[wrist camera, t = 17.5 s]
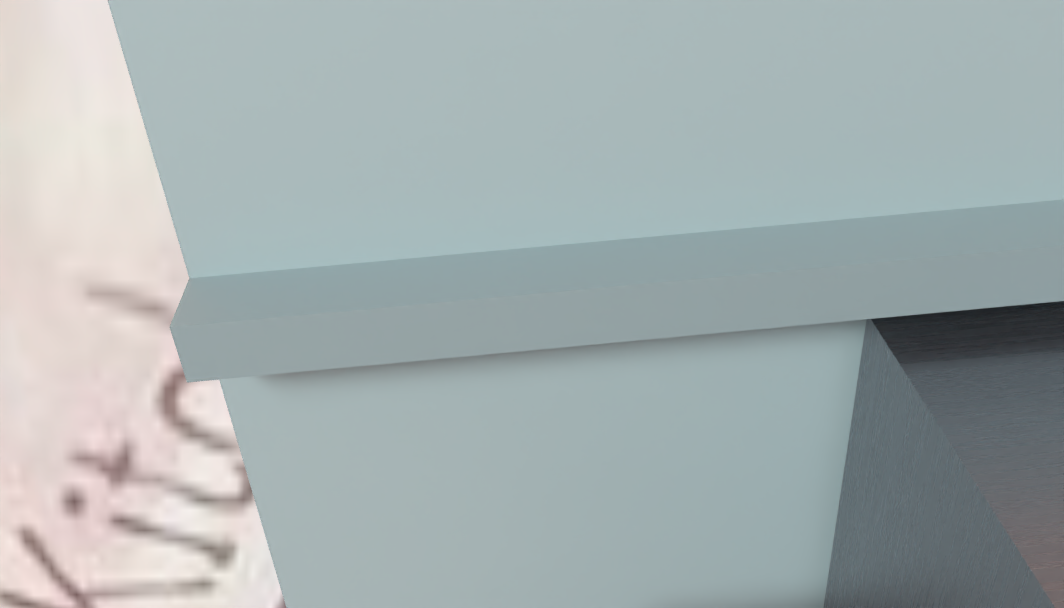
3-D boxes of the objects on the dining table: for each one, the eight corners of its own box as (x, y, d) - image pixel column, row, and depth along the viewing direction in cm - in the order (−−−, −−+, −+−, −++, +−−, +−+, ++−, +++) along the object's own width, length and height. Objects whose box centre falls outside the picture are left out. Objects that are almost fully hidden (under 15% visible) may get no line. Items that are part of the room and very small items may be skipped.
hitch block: (1592, -232, 12) (2323, -158, 8) (1230, 550, 20) (1477, 835, 15) (223, -124, 12) (75, 28, 7) (387, 635, 20) (369, 956, 15)
